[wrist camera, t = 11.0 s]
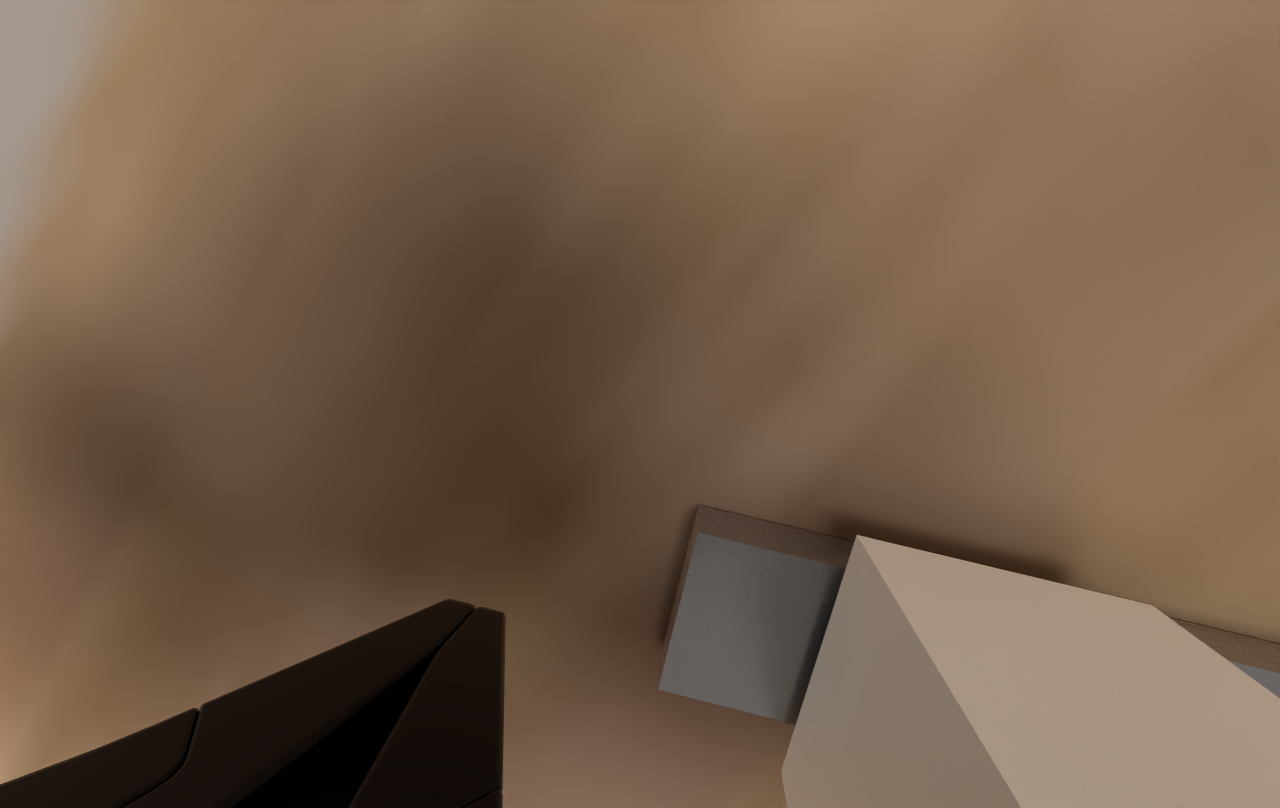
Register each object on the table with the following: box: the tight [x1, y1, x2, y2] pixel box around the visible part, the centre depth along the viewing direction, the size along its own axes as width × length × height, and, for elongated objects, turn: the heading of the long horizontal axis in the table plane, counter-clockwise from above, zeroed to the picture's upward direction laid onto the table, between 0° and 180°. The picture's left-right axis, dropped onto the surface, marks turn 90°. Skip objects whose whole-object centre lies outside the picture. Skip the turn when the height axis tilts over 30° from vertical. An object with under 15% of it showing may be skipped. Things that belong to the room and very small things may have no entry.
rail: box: [658, 505, 1280, 725], centre depth 10 cm, size 20×3×1 cm, turn 78°
